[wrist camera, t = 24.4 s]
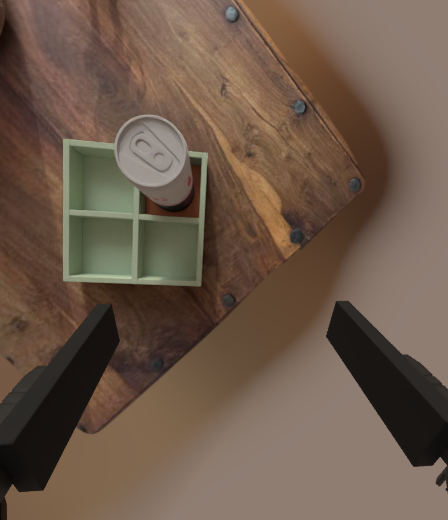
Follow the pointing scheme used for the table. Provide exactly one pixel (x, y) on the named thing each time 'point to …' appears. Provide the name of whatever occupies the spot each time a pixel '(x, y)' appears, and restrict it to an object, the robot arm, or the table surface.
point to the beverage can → (156, 161)
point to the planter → (2, 14)
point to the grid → (126, 223)
